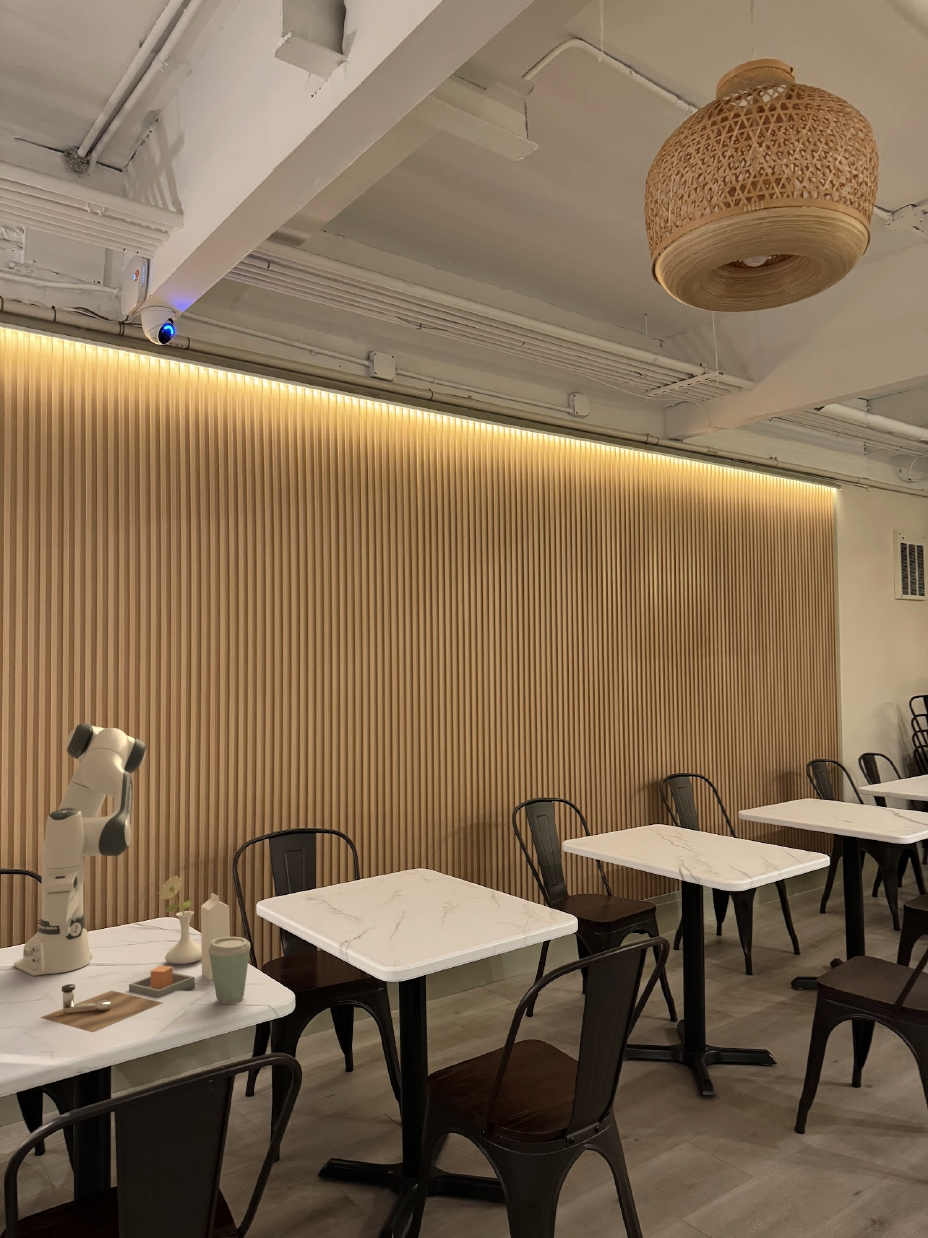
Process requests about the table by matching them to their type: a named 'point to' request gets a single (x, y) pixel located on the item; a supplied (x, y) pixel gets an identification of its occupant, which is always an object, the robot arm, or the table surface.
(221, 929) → the milk
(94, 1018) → the plate
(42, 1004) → the table surface
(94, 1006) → the crank
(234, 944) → the disposable coffee cup
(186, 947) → the flower in vase
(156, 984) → the orange block
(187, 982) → the tray
